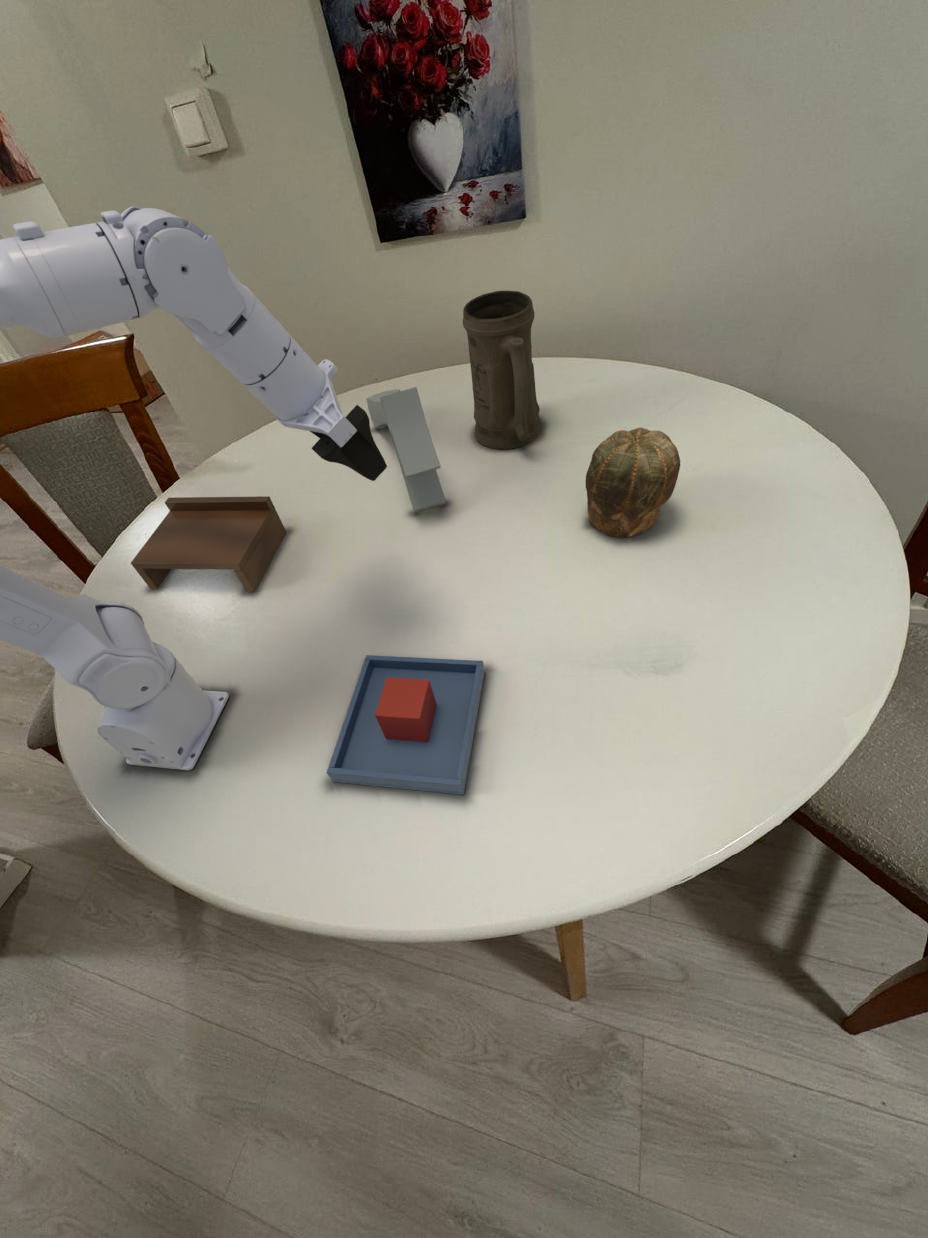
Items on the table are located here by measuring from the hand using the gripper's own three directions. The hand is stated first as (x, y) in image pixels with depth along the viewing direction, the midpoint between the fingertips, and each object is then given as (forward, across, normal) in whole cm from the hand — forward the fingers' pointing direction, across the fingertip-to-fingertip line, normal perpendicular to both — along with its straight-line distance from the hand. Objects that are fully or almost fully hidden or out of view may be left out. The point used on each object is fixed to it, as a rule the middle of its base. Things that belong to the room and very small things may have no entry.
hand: (360, 456), depth 59 cm
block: (+13, -18, +16) cm, 28 cm away
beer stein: (+31, +16, -20) cm, 40 cm away
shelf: (+11, +23, +23) cm, 35 cm away
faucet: (+24, +22, -6) cm, 33 cm away
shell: (+30, -10, -19) cm, 37 cm away
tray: (+14, -18, +16) cm, 28 cm away
